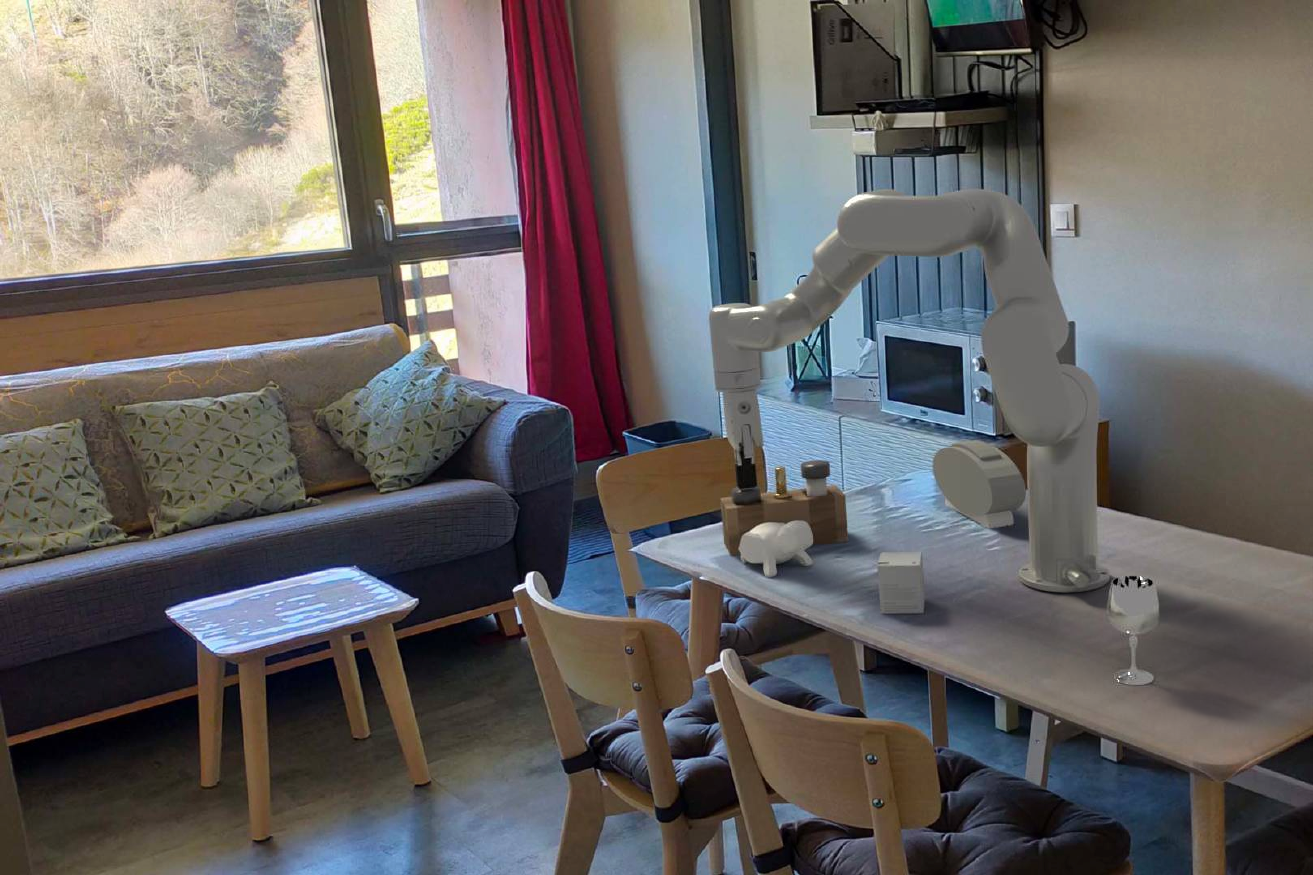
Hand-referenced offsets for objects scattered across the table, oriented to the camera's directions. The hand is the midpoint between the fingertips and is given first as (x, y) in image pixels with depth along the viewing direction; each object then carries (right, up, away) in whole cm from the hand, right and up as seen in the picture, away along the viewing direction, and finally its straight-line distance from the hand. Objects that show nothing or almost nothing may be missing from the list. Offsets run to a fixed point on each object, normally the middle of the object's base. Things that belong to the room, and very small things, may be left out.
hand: (747, 486), depth 214 cm
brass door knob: (+6, -2, +1) cm, 6 cm away
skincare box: (+20, -16, -31) cm, 41 cm away
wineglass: (+42, -21, -61) cm, 77 cm away
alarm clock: (+41, -5, +8) cm, 42 cm away
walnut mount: (+7, -9, +3) cm, 12 cm away
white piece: (+5, -13, -10) cm, 17 cm away
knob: (+12, -5, +2) cm, 13 cm away
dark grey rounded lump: (+1, -9, +2) cm, 9 cm away
